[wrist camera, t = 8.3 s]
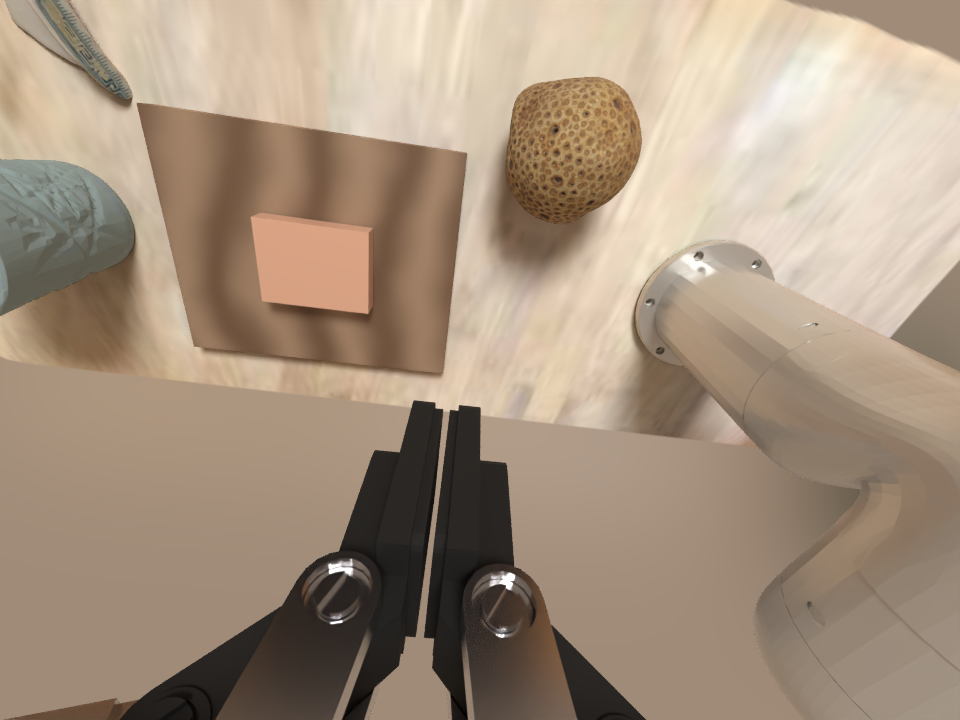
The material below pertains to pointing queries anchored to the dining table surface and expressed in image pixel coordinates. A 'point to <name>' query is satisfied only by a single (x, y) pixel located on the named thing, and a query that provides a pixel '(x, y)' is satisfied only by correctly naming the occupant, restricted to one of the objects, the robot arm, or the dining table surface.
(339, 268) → the tile
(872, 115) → the dining table surface
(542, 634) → the robot arm
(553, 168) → the natural sponge
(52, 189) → the grey green cup
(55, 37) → the ceramic fragment
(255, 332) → the board
